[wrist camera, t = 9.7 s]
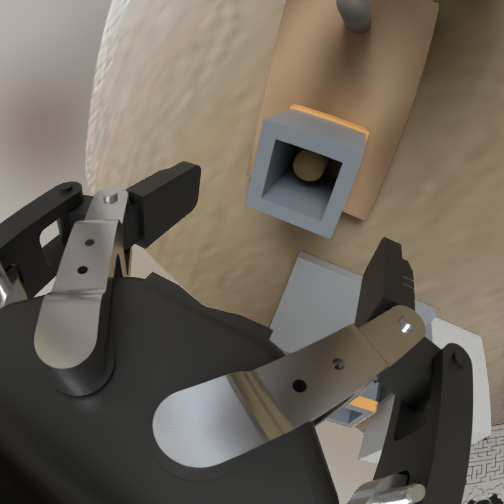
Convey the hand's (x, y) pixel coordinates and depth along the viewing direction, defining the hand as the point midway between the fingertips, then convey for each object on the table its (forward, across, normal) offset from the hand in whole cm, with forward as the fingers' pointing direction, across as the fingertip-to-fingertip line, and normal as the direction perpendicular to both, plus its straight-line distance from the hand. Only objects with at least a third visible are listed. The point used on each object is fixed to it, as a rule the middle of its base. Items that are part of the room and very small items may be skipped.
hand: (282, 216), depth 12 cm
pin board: (+12, 0, -5) cm, 13 cm away
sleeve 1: (+10, 0, 0) cm, 10 cm away
